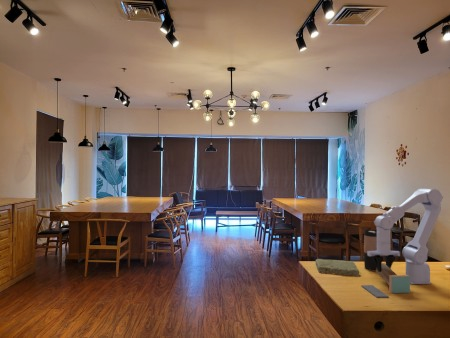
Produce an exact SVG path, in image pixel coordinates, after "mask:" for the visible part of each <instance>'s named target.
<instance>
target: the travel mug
mask: <svg viewBox="0 0 450 338" xmlns="http://www.w3.org/2000/svg"><path fill="white" fill-rule="evenodd" d="M363 234H364V235H363V258H364V259H363V263H364V264H363V265H364V269H365V270H367V271H371V272H376V269H377V267H376V263H375V261H374V259H373V257H372V256H368V255H367V251H375V250H377V229H365V230H363Z"/></svg>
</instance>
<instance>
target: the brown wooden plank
mask: <svg viewBox="0 0 450 338" xmlns="http://www.w3.org/2000/svg"><path fill="white" fill-rule="evenodd" d="M375 272H376V273H377V275H378V276H379V277H381V280H383V281H384V282H385V283H386V284H387V285H388V286H389V275H398V274H397V273H396V272H395V271H394V270H392V268H391V269H390V268H389V267H388V266H387V265H386V262H384V263H383V262H382V264H381V272H379V271H377V269H376V271H375Z"/></svg>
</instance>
